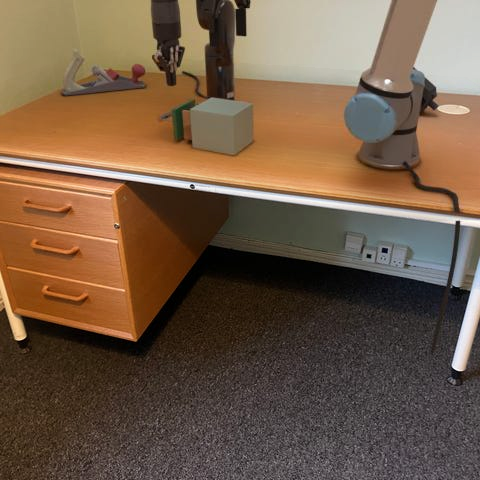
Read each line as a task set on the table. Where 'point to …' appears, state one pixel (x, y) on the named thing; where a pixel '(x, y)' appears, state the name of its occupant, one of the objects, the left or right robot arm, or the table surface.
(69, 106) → the table surface
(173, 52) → the left robot arm
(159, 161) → the table surface
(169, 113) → the drawer
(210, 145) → the grey box
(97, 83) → the hand plane
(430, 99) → the tool
